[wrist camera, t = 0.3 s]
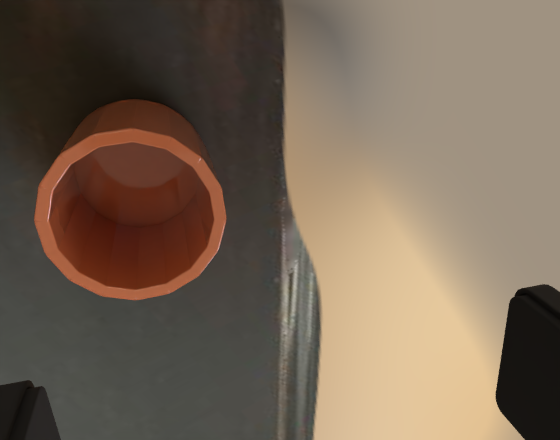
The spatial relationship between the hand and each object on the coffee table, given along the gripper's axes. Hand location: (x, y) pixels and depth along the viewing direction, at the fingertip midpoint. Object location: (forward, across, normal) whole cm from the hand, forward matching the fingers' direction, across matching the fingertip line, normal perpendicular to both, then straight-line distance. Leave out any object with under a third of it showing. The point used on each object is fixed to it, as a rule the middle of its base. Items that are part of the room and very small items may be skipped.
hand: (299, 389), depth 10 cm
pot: (+17, +4, 0) cm, 18 cm away
